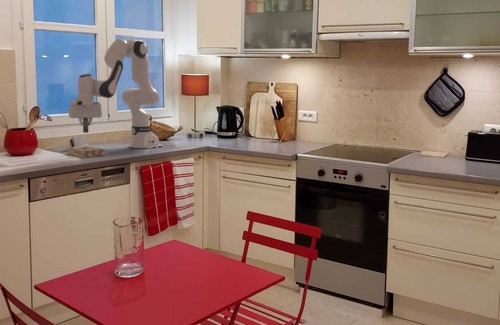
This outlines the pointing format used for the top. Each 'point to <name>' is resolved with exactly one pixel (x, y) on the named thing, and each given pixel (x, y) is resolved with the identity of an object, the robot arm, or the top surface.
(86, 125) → the peg
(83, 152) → the hole block
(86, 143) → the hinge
